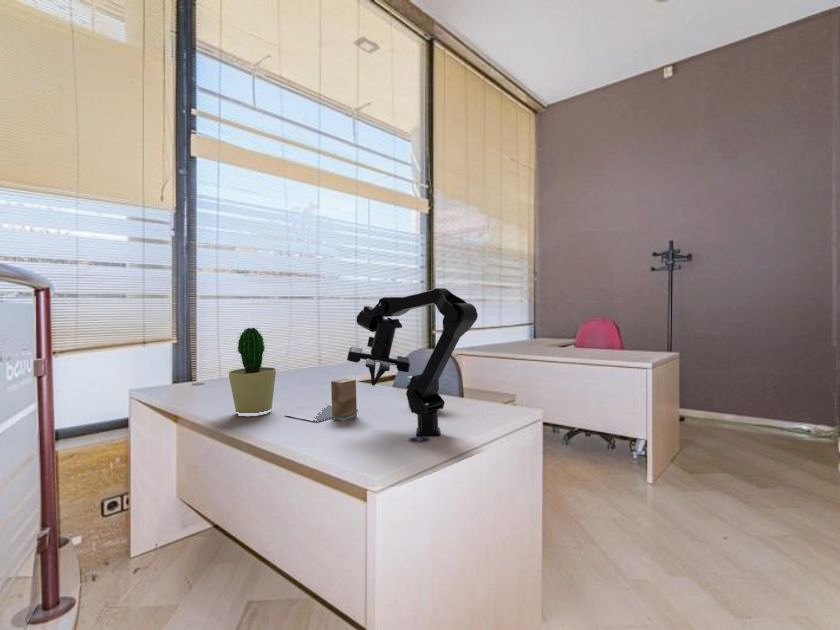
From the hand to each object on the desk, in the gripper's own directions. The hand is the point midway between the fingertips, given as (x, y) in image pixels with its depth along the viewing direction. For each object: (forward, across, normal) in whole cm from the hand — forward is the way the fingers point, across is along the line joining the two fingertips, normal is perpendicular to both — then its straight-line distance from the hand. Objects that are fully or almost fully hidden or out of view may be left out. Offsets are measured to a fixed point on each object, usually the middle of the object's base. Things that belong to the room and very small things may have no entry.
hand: (373, 385), depth 137 cm
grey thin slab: (+18, +14, -11) cm, 25 cm away
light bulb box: (+11, -19, -12) cm, 25 cm away
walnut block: (+15, +6, -4) cm, 16 cm away
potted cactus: (+25, +37, -15) cm, 47 cm away
